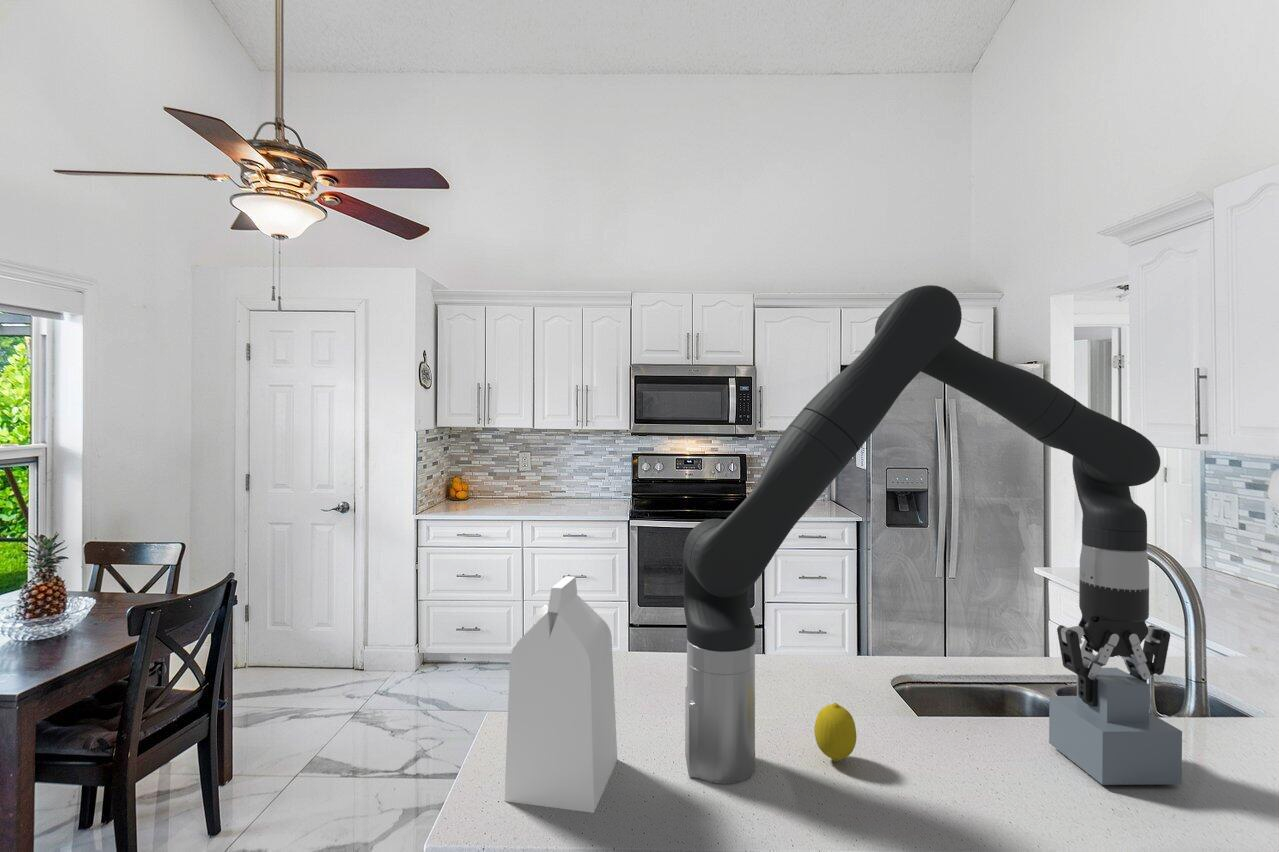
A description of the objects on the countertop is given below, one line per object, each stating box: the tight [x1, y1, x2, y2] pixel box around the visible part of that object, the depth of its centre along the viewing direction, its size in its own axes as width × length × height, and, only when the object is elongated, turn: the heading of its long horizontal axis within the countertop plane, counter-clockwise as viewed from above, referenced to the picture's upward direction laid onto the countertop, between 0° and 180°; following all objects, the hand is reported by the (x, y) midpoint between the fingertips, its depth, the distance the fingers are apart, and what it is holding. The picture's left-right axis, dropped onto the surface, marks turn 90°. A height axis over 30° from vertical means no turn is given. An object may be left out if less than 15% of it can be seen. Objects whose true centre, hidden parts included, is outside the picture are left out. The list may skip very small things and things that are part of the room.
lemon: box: [814, 702, 857, 763], centre depth 87 cm, size 6×6×8 cm
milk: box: [503, 575, 618, 814], centre depth 82 cm, size 12×12×26 cm
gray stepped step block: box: [1048, 667, 1183, 786], centre depth 85 cm, size 10×10×12 cm
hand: (1112, 703), depth 85 cm, fingers closed on gray stepped step block, 5 cm apart
